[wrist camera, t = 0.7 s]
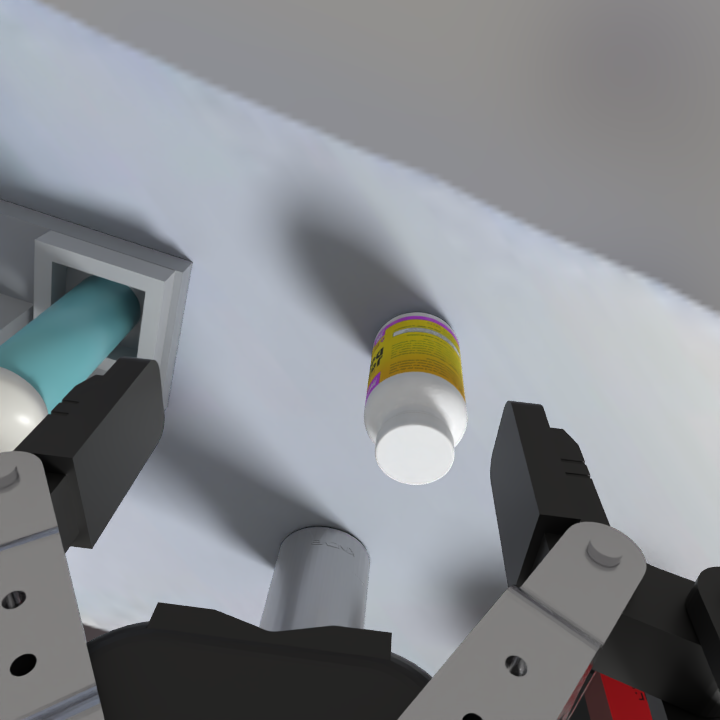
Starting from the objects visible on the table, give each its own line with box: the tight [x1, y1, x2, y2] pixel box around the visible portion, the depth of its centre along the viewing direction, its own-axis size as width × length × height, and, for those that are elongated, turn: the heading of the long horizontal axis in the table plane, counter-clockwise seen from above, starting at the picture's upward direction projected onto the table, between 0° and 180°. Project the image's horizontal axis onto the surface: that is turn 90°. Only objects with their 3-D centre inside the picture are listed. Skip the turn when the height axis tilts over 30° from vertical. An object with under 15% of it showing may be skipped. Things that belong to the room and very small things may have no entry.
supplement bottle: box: [364, 312, 467, 485], centre depth 39 cm, size 7×7×13 cm
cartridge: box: [0, 275, 141, 453], centre depth 37 cm, size 5×5×14 cm
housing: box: [0, 199, 193, 411], centre depth 42 cm, size 14×19×9 cm
